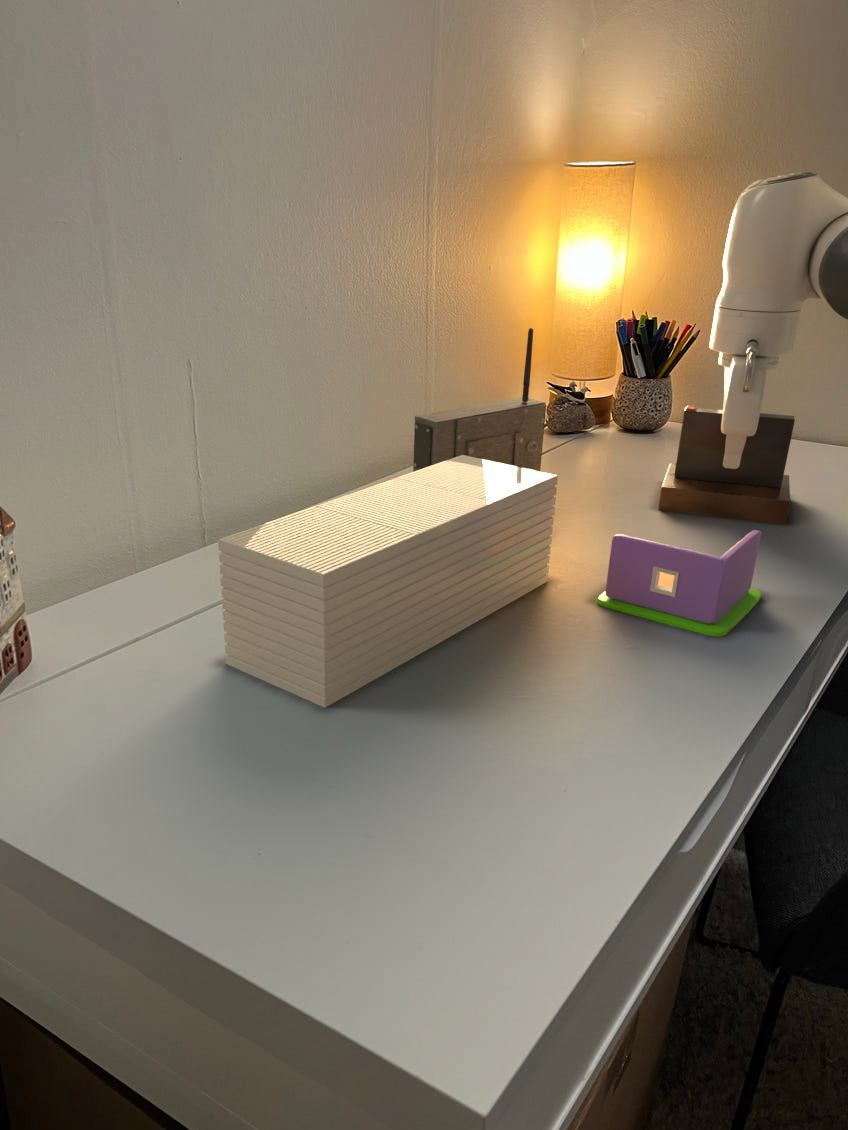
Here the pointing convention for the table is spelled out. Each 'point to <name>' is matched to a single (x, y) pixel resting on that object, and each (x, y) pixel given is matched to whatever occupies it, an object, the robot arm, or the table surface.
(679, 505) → the stand
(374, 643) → the stack of papers
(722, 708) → the table surface
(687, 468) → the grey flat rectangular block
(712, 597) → the miniature room corner
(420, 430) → the electronic device
